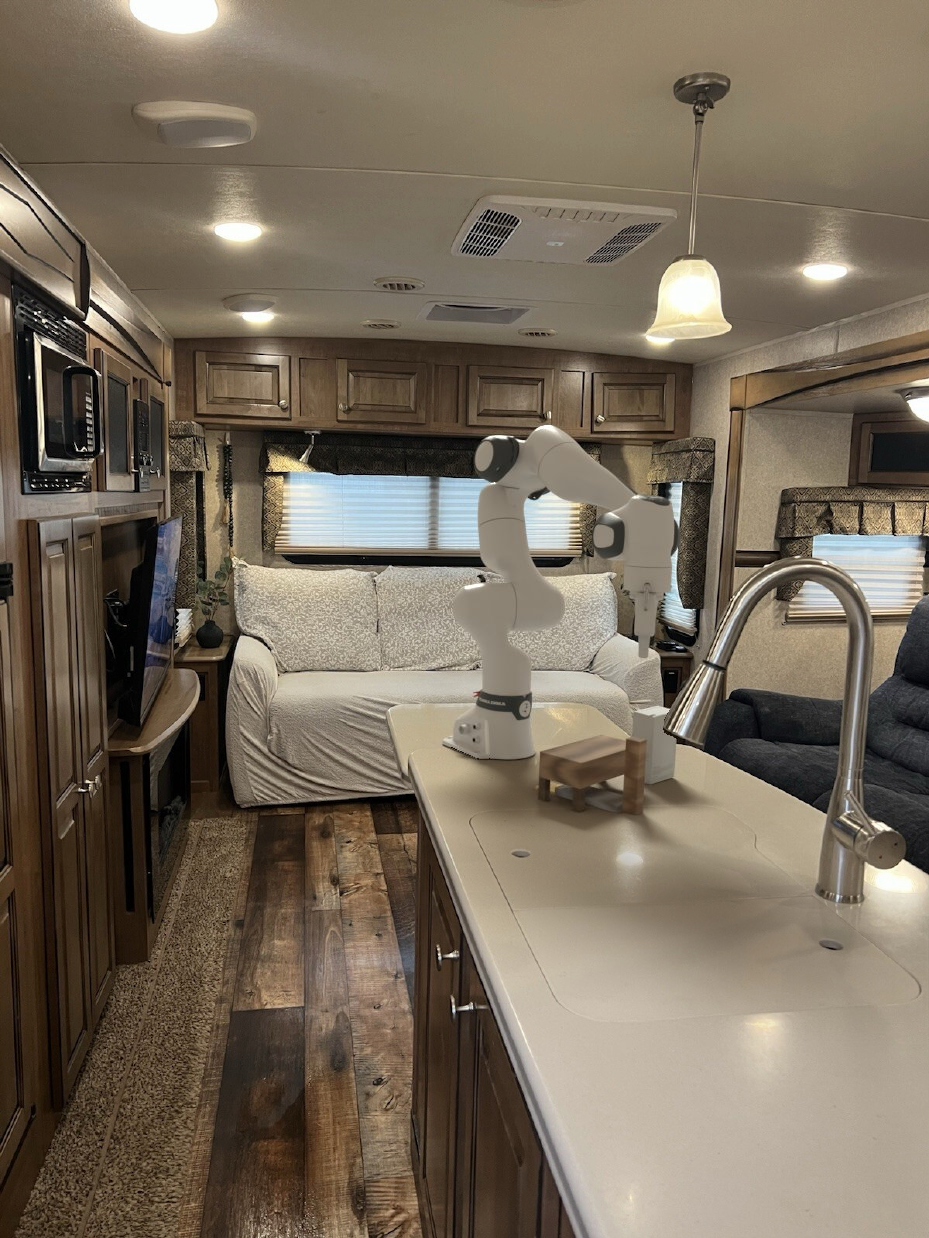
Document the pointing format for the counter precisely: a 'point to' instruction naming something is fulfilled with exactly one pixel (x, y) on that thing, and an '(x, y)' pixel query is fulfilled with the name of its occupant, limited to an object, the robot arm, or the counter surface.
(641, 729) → the skincare box
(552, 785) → the tan square tile
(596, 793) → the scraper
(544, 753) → the small wooden table
